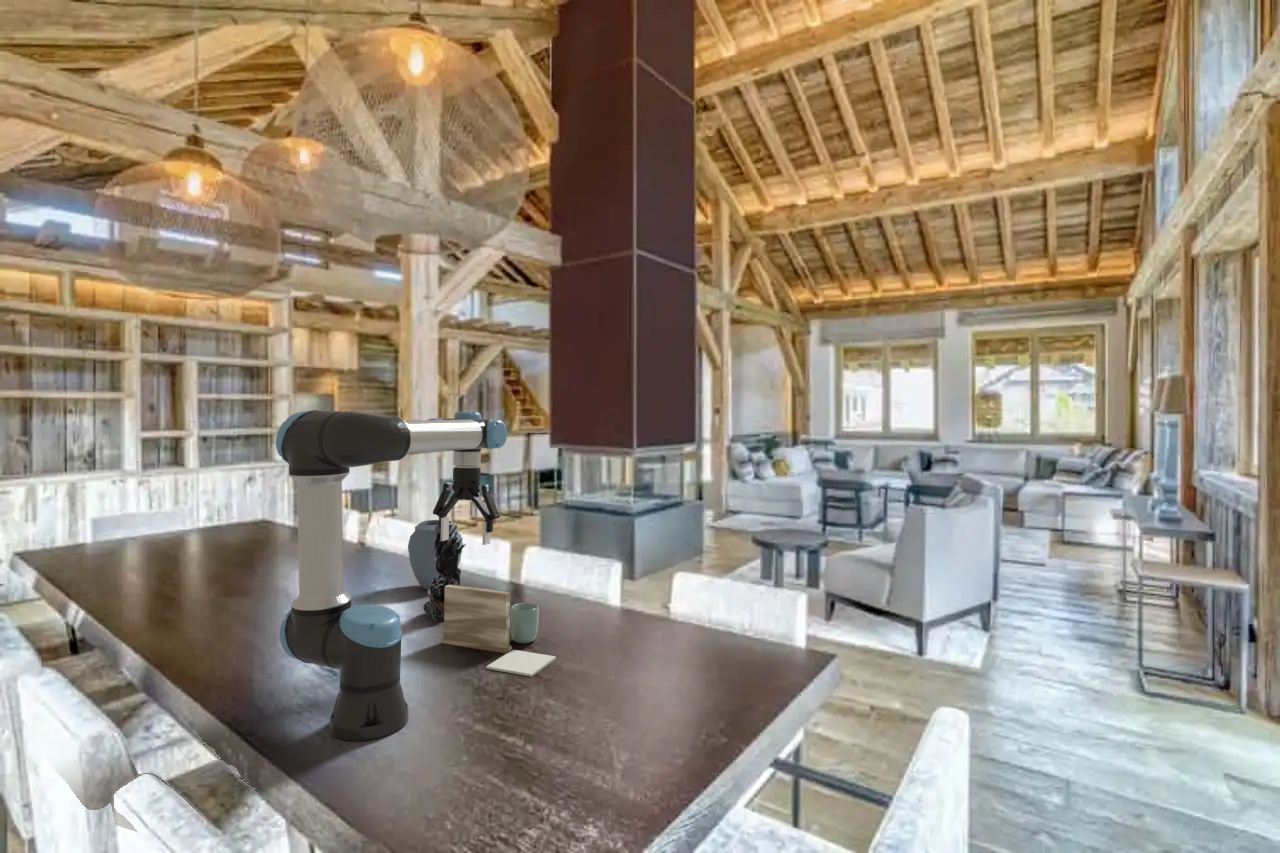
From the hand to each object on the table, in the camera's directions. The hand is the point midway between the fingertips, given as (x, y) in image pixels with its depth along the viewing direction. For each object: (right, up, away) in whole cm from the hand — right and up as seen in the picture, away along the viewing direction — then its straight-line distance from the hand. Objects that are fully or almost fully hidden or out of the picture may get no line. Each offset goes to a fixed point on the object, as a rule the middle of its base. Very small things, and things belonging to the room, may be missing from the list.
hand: (465, 542), depth 184 cm
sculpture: (-13, -28, +24) cm, 39 cm away
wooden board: (+4, -29, -2) cm, 29 cm away
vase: (-27, -27, +58) cm, 69 cm away
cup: (+16, -29, +3) cm, 33 cm away
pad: (+18, -29, -14) cm, 37 cm away
